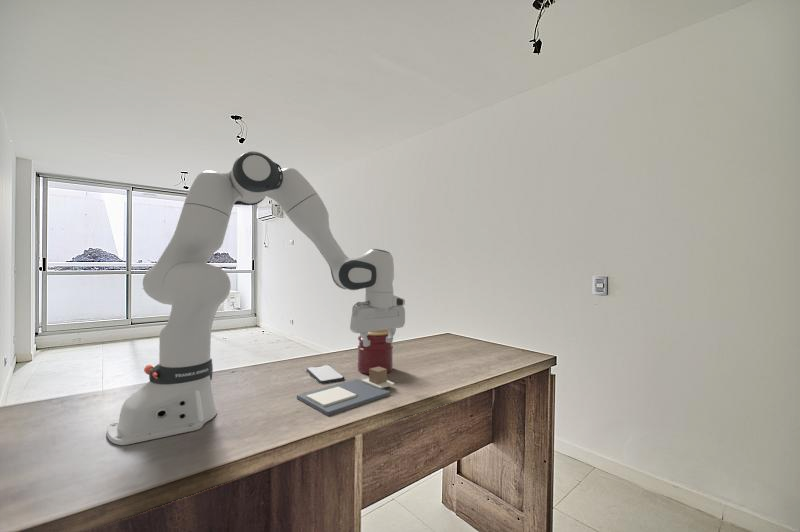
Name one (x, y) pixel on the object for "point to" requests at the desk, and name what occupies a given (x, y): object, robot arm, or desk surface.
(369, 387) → the board
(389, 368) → the canister
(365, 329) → the robot arm
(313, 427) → the desk surface
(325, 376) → the smartphone
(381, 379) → the tan cube with base
